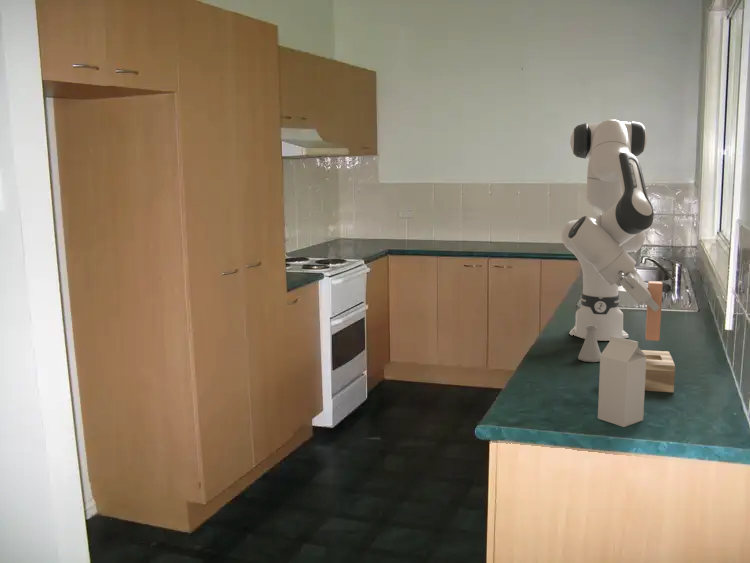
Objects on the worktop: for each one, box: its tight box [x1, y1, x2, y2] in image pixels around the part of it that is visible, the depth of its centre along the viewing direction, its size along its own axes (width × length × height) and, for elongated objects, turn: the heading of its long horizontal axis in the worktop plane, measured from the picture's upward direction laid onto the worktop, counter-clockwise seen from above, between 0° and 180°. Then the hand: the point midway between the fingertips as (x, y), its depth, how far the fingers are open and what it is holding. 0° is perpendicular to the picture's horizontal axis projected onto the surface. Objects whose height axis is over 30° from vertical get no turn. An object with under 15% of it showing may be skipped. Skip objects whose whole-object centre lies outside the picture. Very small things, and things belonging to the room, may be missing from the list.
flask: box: [577, 326, 602, 363], centre depth 216 cm, size 7×7×10 cm
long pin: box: [644, 280, 664, 342], centre depth 191 cm, size 3×3×15 cm
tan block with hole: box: [640, 349, 676, 393], centre depth 194 cm, size 14×10×7 cm
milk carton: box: [597, 336, 646, 428], centre depth 166 cm, size 7×7×19 cm
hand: (656, 307), depth 191 cm, fingers closed on long pin, 3 cm apart
